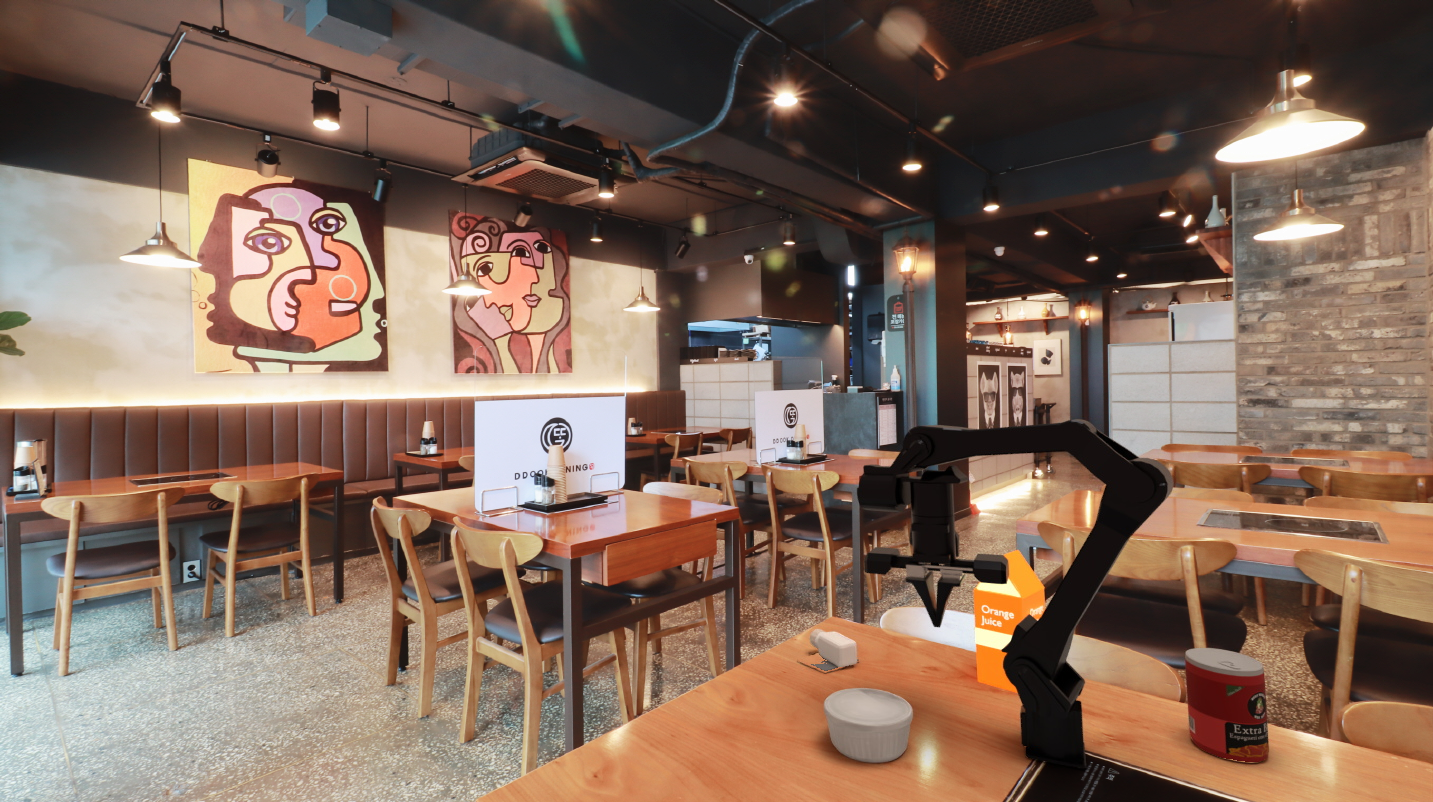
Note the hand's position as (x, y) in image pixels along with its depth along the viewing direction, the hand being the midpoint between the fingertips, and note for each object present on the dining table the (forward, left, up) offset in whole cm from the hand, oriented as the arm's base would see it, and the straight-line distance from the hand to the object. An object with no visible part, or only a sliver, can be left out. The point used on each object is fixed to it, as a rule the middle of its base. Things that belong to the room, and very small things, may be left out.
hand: (937, 626), depth 89 cm
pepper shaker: (+17, -13, -11) cm, 24 cm away
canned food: (-33, -7, -13) cm, 36 cm away
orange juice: (-8, -19, -13) cm, 24 cm away
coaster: (+21, -15, -13) cm, 29 cm away
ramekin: (+7, +11, -13) cm, 19 cm away
